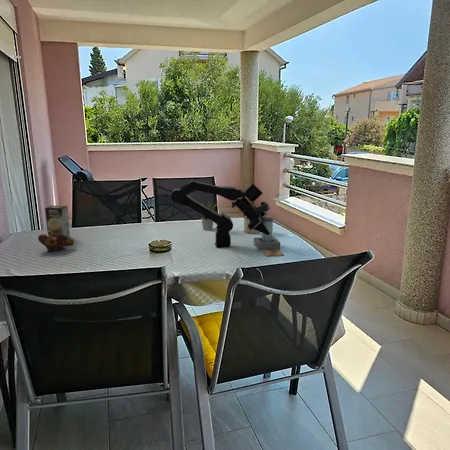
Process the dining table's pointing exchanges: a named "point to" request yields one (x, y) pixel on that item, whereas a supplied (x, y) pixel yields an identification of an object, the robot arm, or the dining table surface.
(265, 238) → the ball
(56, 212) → the coffee box
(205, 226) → the house plant
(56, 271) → the dining table surface
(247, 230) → the teacup with lid
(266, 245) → the frame
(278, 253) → the mat
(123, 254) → the dining table surface
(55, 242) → the decorative turtle
